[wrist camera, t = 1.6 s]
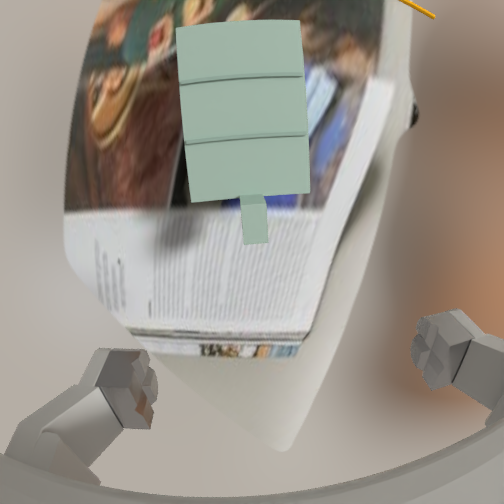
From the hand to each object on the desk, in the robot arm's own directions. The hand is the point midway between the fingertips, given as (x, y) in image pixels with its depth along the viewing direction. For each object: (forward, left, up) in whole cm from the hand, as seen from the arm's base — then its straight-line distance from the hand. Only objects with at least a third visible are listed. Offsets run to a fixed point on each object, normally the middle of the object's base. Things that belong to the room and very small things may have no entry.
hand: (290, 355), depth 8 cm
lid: (-6, 0, -18) cm, 19 cm away
